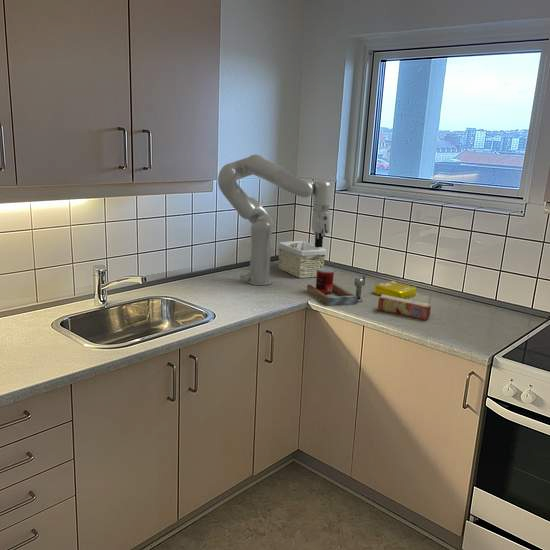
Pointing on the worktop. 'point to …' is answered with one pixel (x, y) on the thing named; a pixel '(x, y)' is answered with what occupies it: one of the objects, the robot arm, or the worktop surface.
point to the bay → (330, 301)
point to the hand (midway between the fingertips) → (318, 246)
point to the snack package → (404, 307)
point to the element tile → (395, 290)
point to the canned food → (325, 280)
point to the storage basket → (301, 258)
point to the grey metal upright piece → (359, 287)
